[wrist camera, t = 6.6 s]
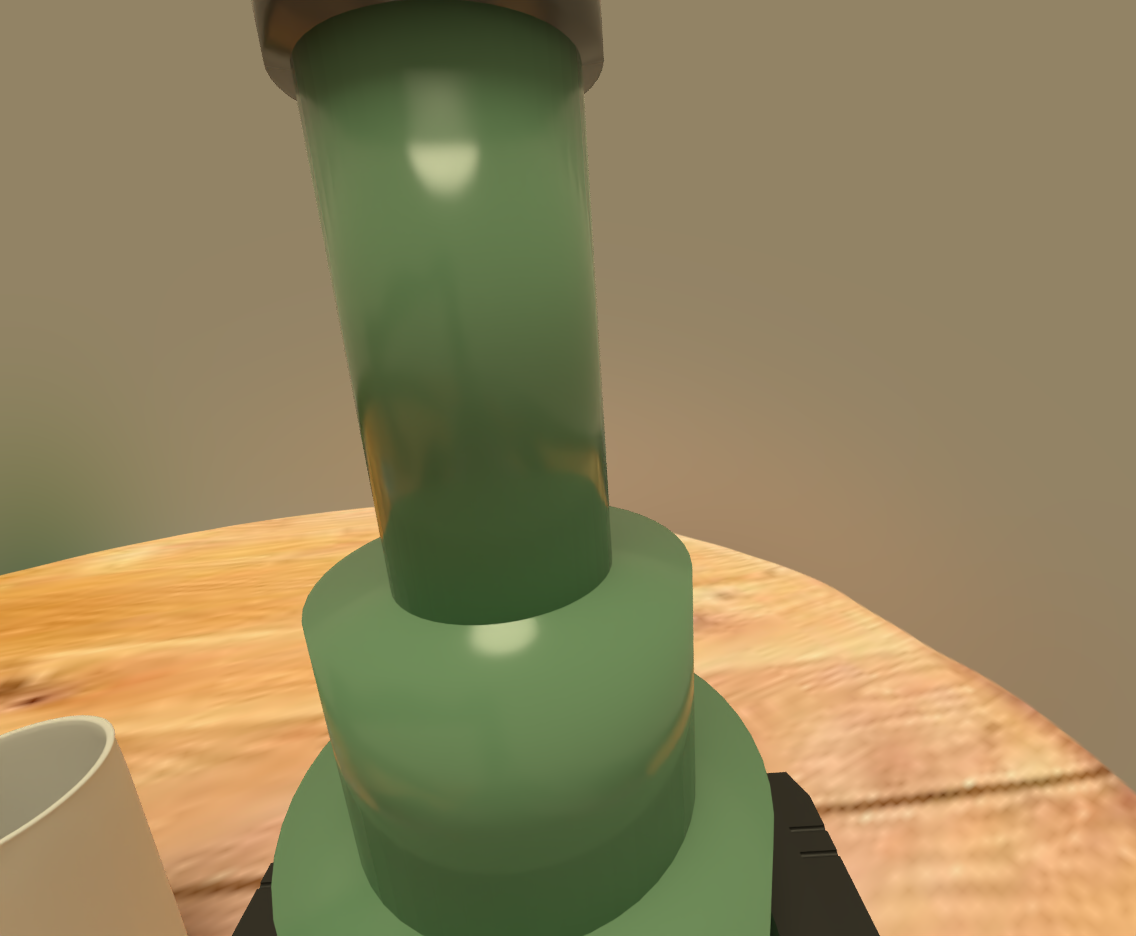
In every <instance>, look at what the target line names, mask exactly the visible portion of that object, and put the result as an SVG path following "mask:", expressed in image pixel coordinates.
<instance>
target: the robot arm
mask: <svg viewBox="0 0 1136 936" xmlns="http://www.w3.org/2000/svg"><path fill="white" fill-rule="evenodd" d="M767 777H768V780H769V784H770V789H771V796H772V804H773V811H774V836H773V868H772V895H771V923H770V936H880V935H879V933H878V931H877V929H876V927H875V925H874V923H873V921H872V919H871V917H870V915H869V913H868V911H867V909H866V907H865V905H864V903H863V901H862V899H861V897H860V895H859V893H858V891H857V889H856V887H855V885H854V883H853V881H852V879H851V877H850V875H849V873H848V871H847V869H846V867H845V865H844V863H843V861H842V859H841V857H840V856H838V854H837V849H836V847H835V845H834V843H833V841H832V839H831V837H830V835H829V834H828V832H827V831H826V830H825V827H824V824H823V822H822V820H821V818H820V816H819V814H818V812H817V810H816V808H815V806H814V804H813V802H812V800H811V798H810V796H809V795H808V794H807V793H806V792H805V791H804V790H803V789H802V788H801V787H800V786H799V785H798V784H797V783H796V782H795V781H794V780H793V779H792V778H791V777H790V776H789V775H788V774H787V773H786V772H780V773H767ZM273 865H274V862H273V863H271V864H270V866H269V868H268V870H267V872H266V873H265V875H264V877H263V879H262V881H261V886H260V888H259V889H257V890H256V892H255V894H254V896H253V898H252V899H251V901H250V903H249V905H248V907H247V909H246V910H245V912H244V914H243V916H242V918H241V920H240V922H239V923H238V925H237V927H236V929H235V931H234V933H233V935H232V936H277V933H276V929H275V925H274V921H273V906H272V890H271V885H272V875H273Z"/></svg>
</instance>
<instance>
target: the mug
mask: <svg viewBox="0 0 1136 936" xmlns="http://www.w3.org/2000/svg"><path fill="white" fill-rule="evenodd" d="M0 936H188V935H187V932H186V929H185V926H184V923H183V920H182V917H181V914H180V911H179V908H178V905H177V902H176V900H175V897H174V894H173V892H172V889H171V886H170V883H169V881H168V878H167V875H166V873H165V870H164V867H163V864H162V861H161V859H160V856H159V853H158V850H157V847H156V845H155V842H154V839H153V836H152V833H151V831H150V828H149V825H148V822H147V819H146V817H145V814H144V811H143V808H142V805H141V802H140V800H139V797H138V794H137V791H136V788H135V786H134V783H133V780H132V777H131V775H130V772H129V769H128V767H127V764H126V761H125V759H124V756H123V754H122V752H121V750H120V747H119V745H118V743H117V740H116V738H115V730H114V728H113V726H112V724H111V723H110V722H109V721H108V720H106V719H104V718H101V717H96V716H86V715H81V716H68V717H62V718H56V719H51V720H47V721H43V722H39V723H35V724H32V725H29V726H25V727H22V728H19V729H16V730H14V731H11V732H8V733H5V734H3V735H0Z"/></svg>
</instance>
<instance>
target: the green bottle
mask: <svg viewBox="0 0 1136 936" xmlns="http://www.w3.org/2000/svg"><path fill="white" fill-rule="evenodd" d="M251 2H252V7H253V12H254V17H255V22H256V27H257V31H258V36H259V42H260V47H261V52H262V57H263V61H264V65H265V69H266V71H267V73H268V74H269V76H270V78H271V79H272V80H273V82H274V83H275V84H276V85H277V86H278V87H279V88H280V89H281V90H282V91H283V92H285V93H286V94H287V95H288V96H290V97H291V98H293V99H295V100H296V101H297V104H298V108H299V114H300V119H301V125H302V130H303V135H304V140H305V145H306V150H307V156H308V161H309V166H310V172H311V177H312V182H313V187H314V193H315V198H316V202H317V208H318V213H319V219H320V224H321V229H322V234H323V240H324V245H325V250H326V255H327V261H328V265H329V271H330V276H331V281H332V287H333V292H334V297H335V302H336V308H337V313H338V317H339V323H340V328H341V334H342V339H343V344H344V350H345V355H346V359H347V365H348V370H349V376H350V381H351V386H352V391H353V397H354V402H355V407H356V412H357V418H358V422H359V428H360V433H361V438H362V444H363V449H364V454H365V459H366V465H367V470H368V475H369V480H370V485H371V491H372V496H373V501H374V506H375V512H376V517H377V522H378V527H379V533H380V537H379V538H377V539H375V540H373V541H371V542H369V543H367V544H366V545H364V546H362V547H361V548H359V549H357V550H355V551H354V552H352V553H351V554H349V555H348V556H346V557H345V558H344V559H342V560H341V561H339V562H338V563H337V564H336V565H334V566H333V567H332V568H331V569H330V570H329V571H328V572H326V573H325V574H324V576H323V577H322V578H321V579H320V580H319V581H318V582H317V583H316V584H315V586H314V588H313V589H312V591H311V592H310V594H309V595H308V597H307V600H306V602H305V605H304V608H303V613H302V626H303V630H304V635H305V639H306V643H307V647H308V651H309V655H310V659H311V663H312V667H313V671H314V675H315V679H316V683H317V687H318V691H319V695H320V700H321V704H322V708H323V712H324V716H325V720H326V724H327V728H328V732H329V736H330V741H329V742H328V744H327V745H326V746H325V747H324V748H323V750H322V751H321V752H320V754H319V755H318V757H317V758H316V760H315V761H314V762H313V764H312V765H311V767H310V768H309V770H308V771H307V773H306V775H305V776H304V778H303V780H302V782H301V784H300V786H299V787H298V789H297V791H296V793H295V795H294V797H293V799H292V801H291V804H290V806H289V809H288V811H287V814H286V816H285V819H284V821H283V824H282V827H281V831H280V835H279V839H278V843H277V847H276V851H275V855H274V865H273V875H272V885H271V890H272V906H273V921H274V925H275V929H276V933H277V936H770V923H771V895H772V868H773V836H774V811H773V804H772V796H771V789H770V784H769V780H768V777H767V773H766V770H765V767H764V763H763V760H762V757H761V755H760V753H759V751H758V749H757V747H756V745H755V742H754V740H753V738H752V736H751V734H750V733H749V731H748V730H747V728H746V727H745V725H744V723H743V722H742V720H741V719H740V717H739V716H738V714H737V713H736V712H735V711H734V710H733V708H732V707H731V706H730V705H729V704H728V703H727V701H726V700H725V699H724V698H723V697H722V696H721V695H720V694H719V693H718V692H717V691H716V690H715V689H713V688H712V687H711V686H710V685H709V684H708V683H707V682H706V681H704V680H703V679H702V678H700V677H699V676H697V675H696V674H695V673H694V649H693V586H692V563H691V559H690V555H689V553H688V551H687V549H686V547H685V545H684V544H683V543H682V542H681V540H680V539H679V538H678V537H677V536H676V535H675V534H674V533H672V532H671V531H670V530H668V529H667V528H666V527H664V526H663V525H661V524H659V523H657V522H656V521H654V520H651V519H649V518H647V517H645V516H642V515H640V514H637V513H633V512H631V511H628V510H624V509H620V508H616V507H611V506H609V496H608V480H607V466H606V465H607V463H606V447H605V431H604V415H603V398H602V382H601V368H600V367H601V365H600V349H599V333H598V316H597V301H596V286H595V285H596V284H595V267H594V251H593V235H592V219H591V202H590V186H589V172H588V171H589V170H588V154H587V138H586V121H585V104H584V94H585V93H586V92H587V91H588V90H589V89H590V88H591V87H592V86H593V85H594V83H595V82H596V81H597V80H598V78H599V76H600V73H601V71H602V67H603V62H604V58H603V38H602V18H601V0H251Z"/></svg>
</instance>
